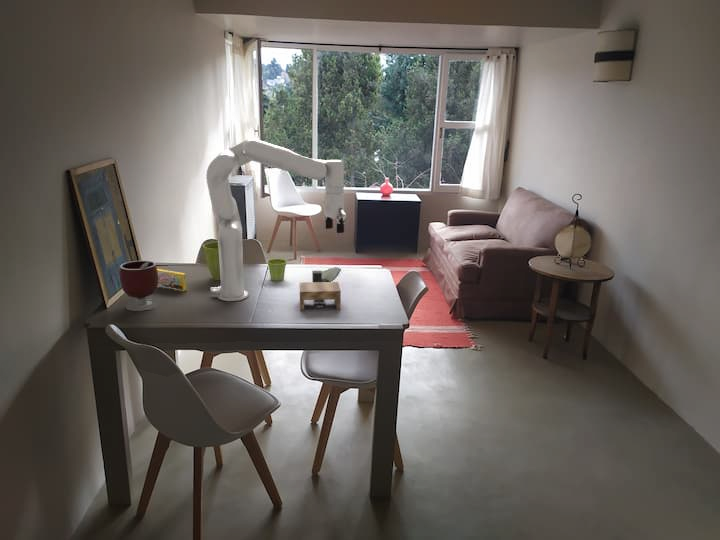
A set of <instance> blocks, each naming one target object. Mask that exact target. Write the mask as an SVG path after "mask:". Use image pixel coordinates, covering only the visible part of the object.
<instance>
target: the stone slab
mask: <svg viewBox="0 0 720 540" xmlns="http://www.w3.org/2000/svg"><path fill="white" fill-rule="evenodd" d="M327 269H328V270H325V271H323V270H321V272H322V282H325V281H328V282H331V281H332V282H334V281H333V280H335V279H336V277H337V275H338V273H339V272H340V271H341V268H340V267H337V266H334V267H330V268H327Z"/></svg>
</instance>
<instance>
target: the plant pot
mask: <svg viewBox="0 0 720 540" xmlns="http://www.w3.org/2000/svg"><path fill="white" fill-rule="evenodd" d="M266 263H267V265H268V270H269V275H270V276H269V277H270V280H271V281H275V282H276V281H280V280H281V281H284V279H285V273H286V266H287V263H288V260H286V259H284V258H271V259H267V260H266Z"/></svg>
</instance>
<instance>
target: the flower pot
mask: <svg viewBox="0 0 720 540" xmlns="http://www.w3.org/2000/svg"><path fill="white" fill-rule="evenodd" d="M202 247H203V252H204V253H203V254H204V257H205V261H206V264H207V267H208V271H209V272H210V275H211V277H212V279H213V278H214V279H218V280H217V281H221V279H220V262H219V248H218V241H210V242H207V243H205V244H203V245H202ZM214 279H213V280H214Z"/></svg>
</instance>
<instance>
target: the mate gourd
mask: <svg viewBox="0 0 720 540" xmlns="http://www.w3.org/2000/svg"><path fill="white" fill-rule="evenodd" d="M157 269H158V268H157V264H156V262H155V261H152V260H134V261H127V262H124V263H122V264H120V270H119V283H120V285H121V289H122V290H123V292H124V294H126V295H127V296H128V297H130V298H134V299H135V298H136V301H137V304H138V305H140V306H142V305H144V306H148V305H151V304H152V302H151V301H146V299H147V297H149V296H152V295H153V294H154V293H155V291H156V290H157V289H158V287H157V286H158V271H157ZM144 306H142V307H144Z"/></svg>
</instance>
